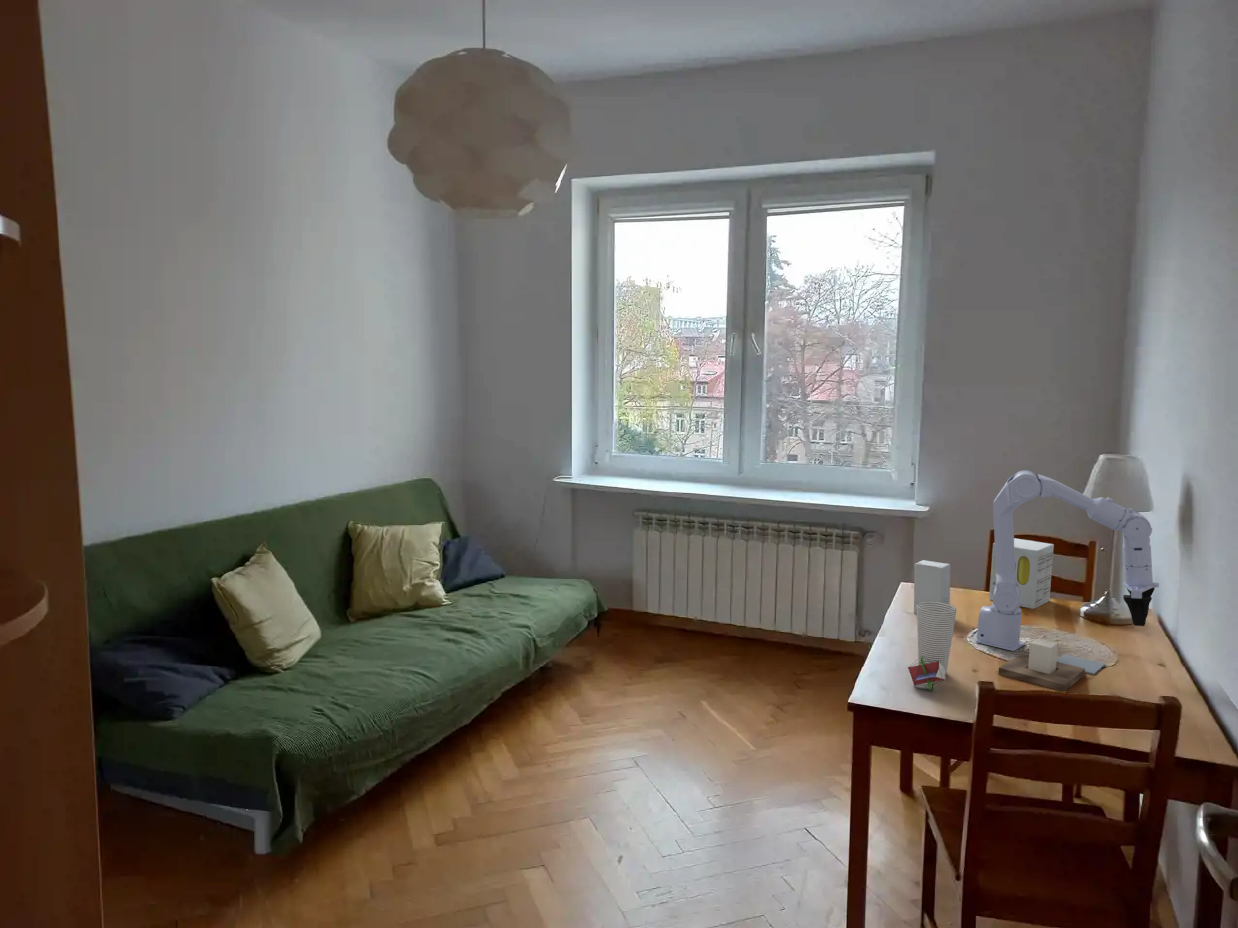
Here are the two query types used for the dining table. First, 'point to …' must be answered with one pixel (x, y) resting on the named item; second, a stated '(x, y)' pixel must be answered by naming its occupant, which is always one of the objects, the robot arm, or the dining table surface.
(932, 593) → the skincare box
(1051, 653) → the cream block
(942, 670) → the geometric puzzle
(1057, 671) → the pocket board
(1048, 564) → the supplement box
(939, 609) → the cup
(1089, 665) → the slate mat
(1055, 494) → the robot arm
